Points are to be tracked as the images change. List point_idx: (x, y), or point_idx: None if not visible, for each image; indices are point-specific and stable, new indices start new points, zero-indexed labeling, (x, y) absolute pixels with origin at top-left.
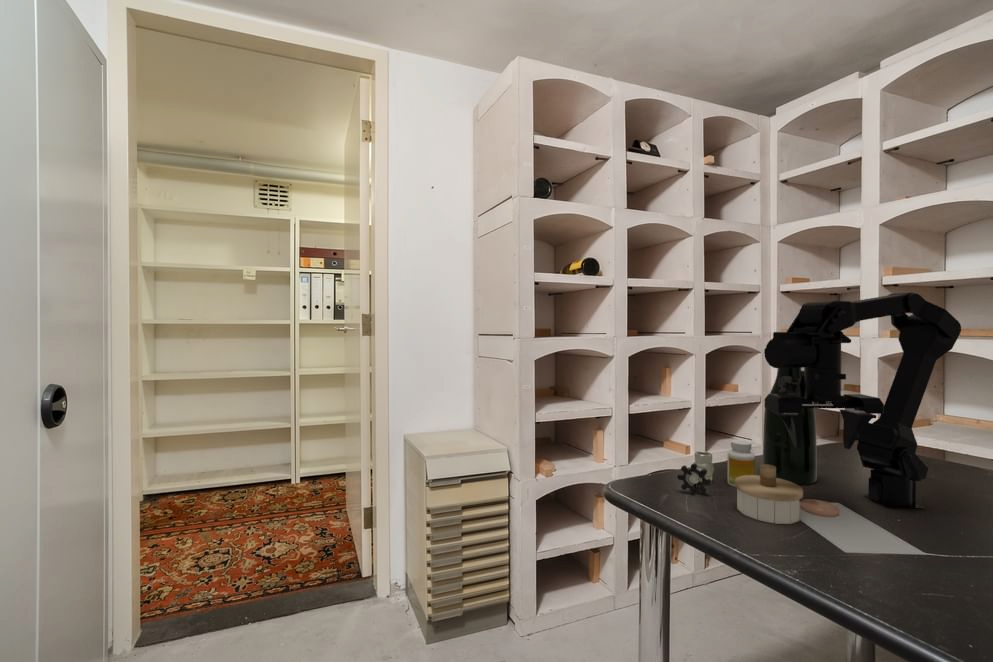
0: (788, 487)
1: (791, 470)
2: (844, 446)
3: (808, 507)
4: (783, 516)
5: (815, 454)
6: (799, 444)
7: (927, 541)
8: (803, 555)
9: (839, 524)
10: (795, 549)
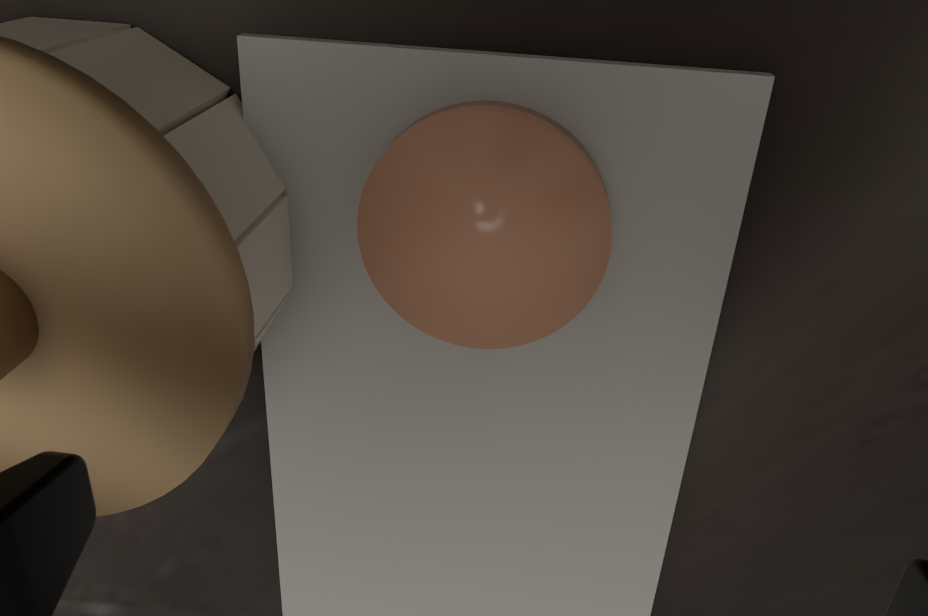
0: (128, 378)
1: None
2: (914, 585)
3: (371, 269)
4: None
5: None
6: (45, 597)
7: (806, 580)
8: (114, 610)
9: (462, 419)
10: (102, 572)
